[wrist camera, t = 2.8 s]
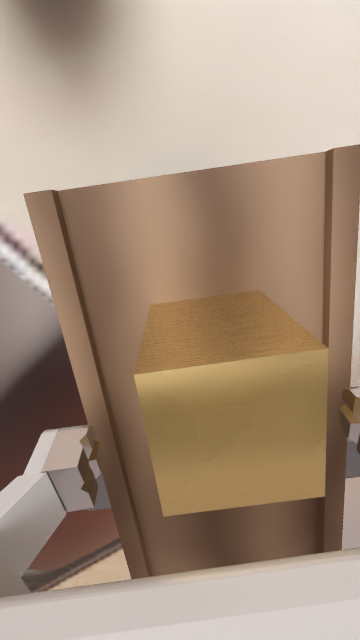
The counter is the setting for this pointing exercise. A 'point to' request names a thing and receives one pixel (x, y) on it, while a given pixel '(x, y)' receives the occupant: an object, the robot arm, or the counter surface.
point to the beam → (196, 282)
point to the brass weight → (232, 403)
